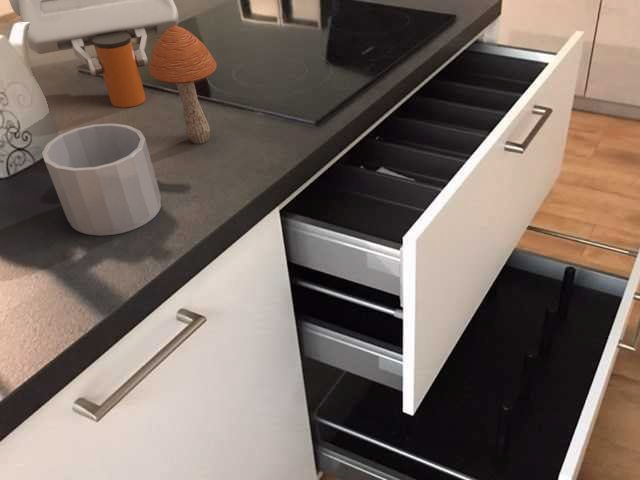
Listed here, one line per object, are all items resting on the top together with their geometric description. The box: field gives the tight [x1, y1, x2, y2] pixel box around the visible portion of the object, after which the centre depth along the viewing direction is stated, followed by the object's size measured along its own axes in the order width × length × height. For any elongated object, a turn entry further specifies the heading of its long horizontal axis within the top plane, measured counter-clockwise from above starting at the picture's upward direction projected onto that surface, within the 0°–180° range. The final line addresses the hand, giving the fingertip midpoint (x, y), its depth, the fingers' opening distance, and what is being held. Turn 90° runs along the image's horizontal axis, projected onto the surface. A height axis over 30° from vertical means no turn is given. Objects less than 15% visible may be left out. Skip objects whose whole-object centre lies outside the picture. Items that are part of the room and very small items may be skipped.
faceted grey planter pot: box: [41, 122, 162, 237], centre depth 71 cm, size 10×10×8 cm
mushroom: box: [148, 25, 218, 144], centre depth 81 cm, size 8×8×15 cm
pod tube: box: [92, 31, 147, 108], centre depth 92 cm, size 5×5×9 cm
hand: (120, 68), depth 91 cm, fingers closed on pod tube, 5 cm apart
